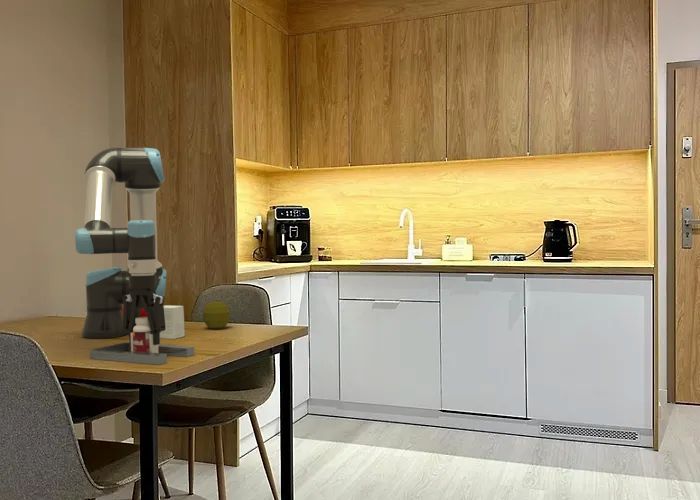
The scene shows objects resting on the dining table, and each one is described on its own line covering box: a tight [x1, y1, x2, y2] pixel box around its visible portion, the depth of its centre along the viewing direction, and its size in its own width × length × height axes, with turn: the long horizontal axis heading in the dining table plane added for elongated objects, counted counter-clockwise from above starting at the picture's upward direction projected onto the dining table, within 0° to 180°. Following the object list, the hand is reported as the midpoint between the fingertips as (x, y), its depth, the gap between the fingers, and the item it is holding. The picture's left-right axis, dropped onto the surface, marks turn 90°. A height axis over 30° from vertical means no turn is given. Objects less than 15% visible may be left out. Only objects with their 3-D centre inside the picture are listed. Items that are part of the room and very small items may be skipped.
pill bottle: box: [133, 317, 151, 352], centre depth 195 cm, size 6×6×11 cm
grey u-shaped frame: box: [89, 341, 195, 366], centre depth 196 cm, size 25×15×2 cm, turn 65°
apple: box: [202, 301, 231, 330], centre depth 249 cm, size 10×10×11 cm
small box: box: [155, 304, 185, 340], centre depth 231 cm, size 8×6×10 cm
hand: (144, 355), depth 196 cm, fingers closed on pill bottle, 6 cm apart
